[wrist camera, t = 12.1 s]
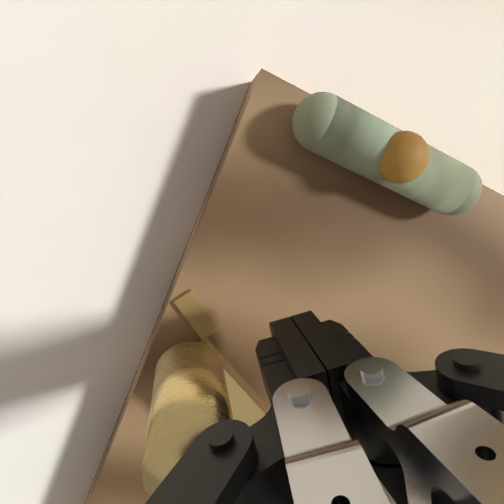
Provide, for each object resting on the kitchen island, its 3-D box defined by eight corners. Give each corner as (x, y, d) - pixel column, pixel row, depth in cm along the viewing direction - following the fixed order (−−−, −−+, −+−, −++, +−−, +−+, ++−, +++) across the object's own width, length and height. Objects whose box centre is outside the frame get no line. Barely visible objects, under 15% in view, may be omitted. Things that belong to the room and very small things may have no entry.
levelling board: (475, 581, 24) (539, 672, 20) (78, 519, 18) (44, 633, 14) (652, 286, 21) (774, 317, 17) (251, 81, 15) (280, 45, 10)
